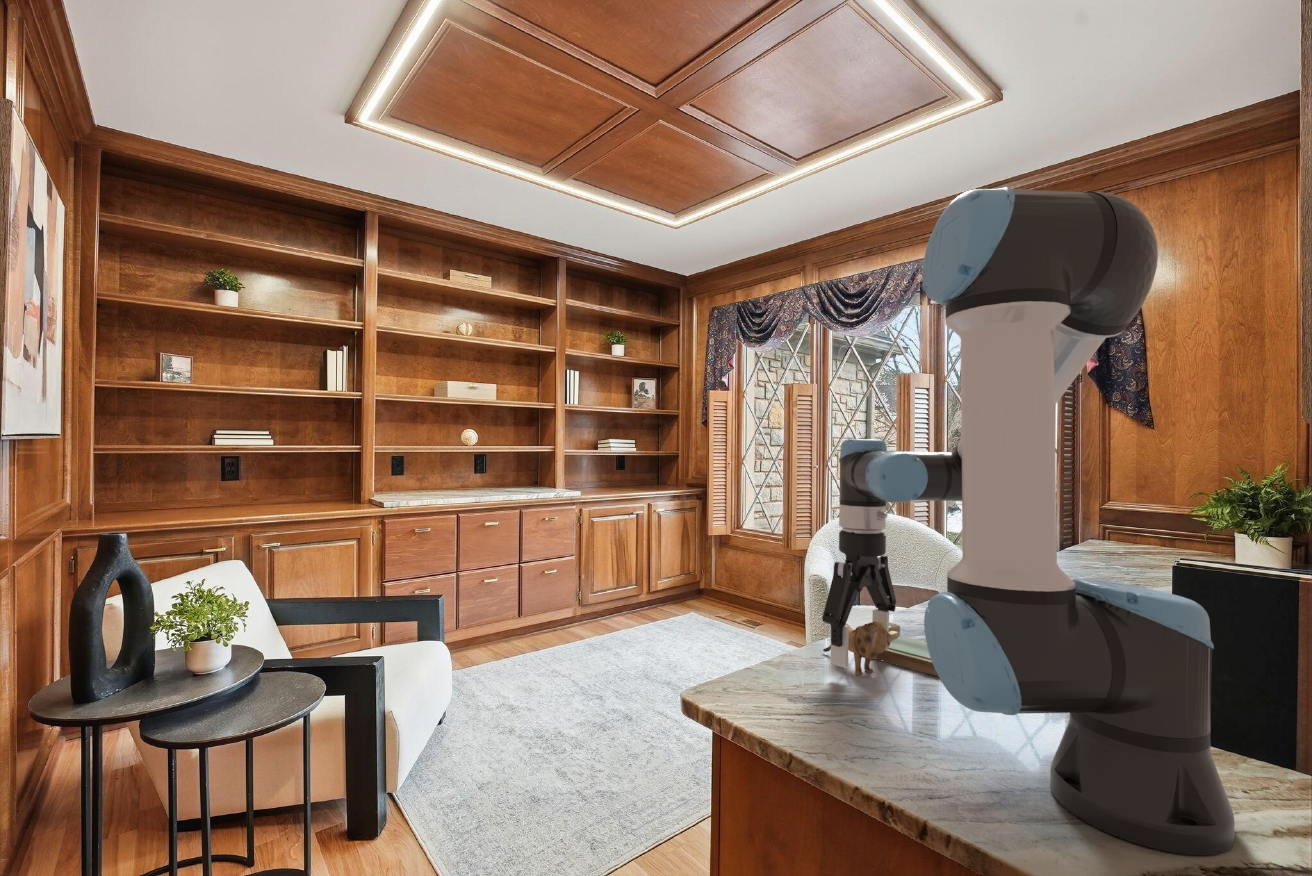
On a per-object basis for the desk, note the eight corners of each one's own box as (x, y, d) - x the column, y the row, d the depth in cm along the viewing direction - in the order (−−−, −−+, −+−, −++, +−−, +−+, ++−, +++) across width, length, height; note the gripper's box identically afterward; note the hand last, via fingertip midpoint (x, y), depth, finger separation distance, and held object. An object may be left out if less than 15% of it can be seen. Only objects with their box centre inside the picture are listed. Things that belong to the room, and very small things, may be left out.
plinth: (993, 691, 96) (993, 672, 97) (867, 656, 112) (867, 640, 112) (1015, 676, 103) (1015, 658, 103) (893, 645, 119) (894, 629, 119)
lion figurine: (897, 678, 101) (898, 623, 102) (874, 684, 99) (874, 627, 99) (833, 651, 114) (834, 602, 115) (811, 655, 112) (811, 605, 112)
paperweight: (892, 646, 118) (892, 630, 118) (868, 640, 122) (868, 625, 122) (904, 641, 122) (904, 625, 122) (880, 635, 125) (880, 620, 125)
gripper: (843, 539, 94) (841, 680, 94) (917, 527, 111) (915, 646, 111) (801, 533, 100) (799, 667, 100) (877, 522, 117) (876, 636, 117)
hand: (860, 656), depth 105 cm, fingers open, 13 cm apart
